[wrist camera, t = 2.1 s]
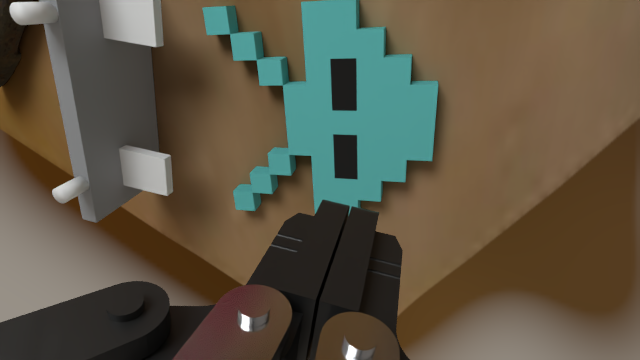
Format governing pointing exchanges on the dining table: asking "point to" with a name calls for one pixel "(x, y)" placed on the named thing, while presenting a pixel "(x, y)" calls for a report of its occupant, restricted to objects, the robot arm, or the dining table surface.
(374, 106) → the alien figure
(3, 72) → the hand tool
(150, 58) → the cabinet side
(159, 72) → the dining table surface
